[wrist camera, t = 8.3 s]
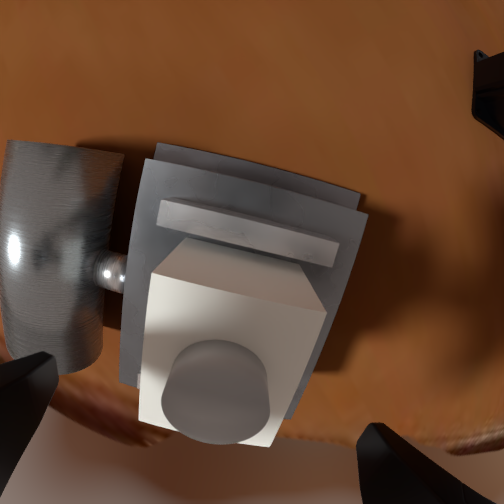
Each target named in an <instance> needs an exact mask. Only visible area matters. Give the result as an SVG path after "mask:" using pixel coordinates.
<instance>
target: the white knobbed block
mask: <svg viewBox="0 0 504 504" xmlns="http://www.w3.org/2000/svg"><path fill="white" fill-rule="evenodd" d="M326 314H327V312H326V310H325V309H324V307H323V305H322V303H321V301H320V300H319V298H318V296H317V294H316V293H315V291H314V289H313V287H312V286H311V284H310V282H309V281H308V279H307V277H306V275H305V274H304V272H303V270H302V268H301V267H300V265H299V264H297V263H293V262H288V261H284V260H280V259H276V258H272V257H267V256H263V255H259V254H255V253H251V252H246V251H242V250H238V249H234V248H230V247H226V246H221V245H217V244H213V243H209V242H205V241H200V240H196V239H192V238H188V237H186V238H185V239H184V240H183V241H182V242H181V243H180V244H179V245H178V246H177V247H176V248H175V249H174V250H173V251H172V252H171V253H170V254H169V255H168V256H167V257H166V258H165V259H164V260H163V261H162V262H161V263H160V264H159V265H158V267H157V268H156V269H155V270H154V271H153V272H152V273H151V280H150V287H149V295H148V303H147V311H146V320H145V329H144V340H143V351H142V363H141V378H140V397H139V421H143V422H146V423H149V424H153V425H156V426H160V427H164V428H167V429H171V430H175V431H179V432H181V433H182V434H184V435H186V436H188V437H190V438H192V439H194V440H197V441H201V442H205V443H211V444H232V443H241V444H249V445H256V446H264V447H270V445H271V443H272V441H273V439H274V437H275V435H276V433H277V431H278V429H279V427H280V425H281V423H282V420H283V418H284V416H285V414H286V412H287V410H288V407H289V405H290V403H291V401H292V398H293V396H294V394H295V392H296V389H297V387H298V385H299V382H300V380H301V378H302V375H303V373H304V371H305V368H306V366H307V363H308V361H309V358H310V356H311V354H312V351H313V348H314V346H315V343H316V341H317V338H318V336H319V333H320V330H321V328H322V325H323V322H324V320H325V317H326Z"/></svg>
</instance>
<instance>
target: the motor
mask: <svg viewBox="0 0 504 504" xmlns="http://www.w3.org/2000/svg"><path fill="white" fill-rule="evenodd" d="M124 155H125V154H120V153H115V152H108V151H102V150H96V149H89V148H82V147H74V146H67V145H58V144H50V143H40V142H30V141H19V140H7V144H6V149H5V155H4V161H3V168H2V176H1V184H0V306H1V314H2V322H3V328H4V335H5V341H6V346H7V349H8V351H9V353H10V355H11V356H12V357H13V359H14V360H15V359H19V358H22V357H25V356H28V355H31V354H35V353H38V352H41V351H45V352H47V353H49V354H52V355H54V356H55V358H56V361H57V369H58V375H62V374H69V373H74V372H77V371H80V370H82V369H85V368H87V367H88V366H90V365H91V364H92V363H94V362H95V361H96V360H97V359H98V357H99V356H100V354H101V351H102V347H103V313H104V294H105V289H108V290H112V291H115V292H118V293H122V294H124V295H123V306H122V320H121V336H120V362H119V382H121V383H124V384H127V385H130V386H133V387H136V388H138V389H140V378H141V363H142V351H143V340H144V329H145V320H146V311H147V303H148V295H149V287H150V280H151V273H152V272H153V271H154V270H155V269H156V268H157V267H158V265H159V264H160V263H161V262H162V261H163V260H164V259H165V258H166V257H167V256H168V255H169V254H170V253H171V252H172V251H173V250H174V249H175V248H176V247H177V246H178V245H179V244H180V243H181V242H182V241H183V240H184V239H185V238H186V237H188V238H192V239H196V240H200V241H205V242H209V243H213V244H217V245H221V246H226V247H230V248H234V249H238V250H242V251H246V252H251V253H255V254H259V255H263V256H267V257H272V258H276V259H280V260H284V261H288V262H293V263H297V264H299V265H300V267H301V268H302V270H303V272H304V274H305V275H306V277H307V279H308V281H309V282H310V284H311V286H312V287H313V289H314V291H315V293H316V294H317V296H318V298H319V300H320V301H321V303H322V305H323V307H324V309H325V310H326V312H327V314H326V317H325V320H324V322H323V325H322V328H321V330H320V333H319V336H318V338H317V341H316V343H315V346H314V348H313V351H312V354H311V356H310V358H309V361H308V363H307V366H306V368H305V371H304V373H303V375H302V378H301V380H300V382H299V385H298V387H297V389H296V392H295V394H294V396H293V398H292V401H291V403H290V405H289V407H288V410H287V412H286V414H285V416H284V418H283V419H291V418H292V416H293V413H294V411H295V409H296V407H297V405H298V403H299V401H300V399H301V397H302V394H303V392H304V390H305V388H306V386H307V383H308V381H309V379H310V377H311V374H312V372H313V370H314V367H315V365H316V363H317V360H318V358H319V355H320V353H321V351H322V348H323V346H324V343H325V341H326V338H327V336H328V333H329V331H330V328H331V326H332V323H333V320H334V318H335V315H336V312H337V310H338V307H339V304H340V302H341V299H342V296H343V293H344V290H345V288H346V285H347V282H348V279H349V276H350V273H351V270H352V267H353V264H354V261H355V258H356V255H357V252H358V248H359V245H360V242H361V239H362V235H363V232H364V229H365V225H366V222H367V218H368V214H365V213H362V212H359V211H356V209H357V206H358V202H359V198H360V195H361V194H360V193H357V192H354V191H351V190H348V189H344V188H341V187H338V186H335V185H332V184H328V183H325V182H322V181H318V180H315V179H312V178H308V177H305V176H301V175H298V174H294V173H291V172H287V171H283V170H280V169H276V168H272V167H268V166H264V165H261V164H257V163H253V162H248V161H244V160H240V159H236V158H232V157H227V156H223V155H218V154H214V153H209V152H205V151H200V150H195V149H190V148H185V147H180V146H175V145H169V144H164V143H158V142H157V146H156V150H155V154H154V159H153V160H152V159H145V163H144V167H143V172H142V177H141V181H140V186H139V191H138V196H137V202H136V207H135V213H134V219H133V225H132V231H131V237H130V244H129V251H128V255H124V254H120V253H117V252H113V251H109V241H110V234H111V226H112V220H113V213H114V207H115V201H116V195H117V190H118V184H119V179H120V174H121V169H122V164H123V160H124Z"/></svg>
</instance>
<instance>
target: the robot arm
mask: <svg viewBox="0 0 504 504" xmlns="http://www.w3.org/2000/svg"><path fill="white" fill-rule="evenodd" d="M477 111H478V113H477ZM472 115H473V116H474V117H475V118H476V119H477V120H479V121H480V122H481V123H483V124H484V125H486V126H487V127H489V128H490V129H491V130H493V131H494V132H495V133H497V134H498V135H499V136H501V137H502V138H503V139H504V52H502V53H499V54H497V55H494V56H491V57H488V56H487V55H486V54H484V53H483V52H482V51H480V50H476V51H474V78H473V98H472ZM58 382H59V376H58V369H57V361H56V358H55V356H54V355H52V354H49V353H47V352H45V351H41V352H38V353H35V354H31V355H28V356H25V357H22V358H19V359H15V360H12V361H9V362H6V363H2V364H0V497H1V495H2V493H3V491H4V488H5V487H6V484H7V483H8V480H9V479H10V477H11V475H12V473H13V471H14V469H15V467H16V465H17V463H18V461H19V460H20V458H21V456H22V454H23V452H24V451H25V449H26V447H27V445H28V444H29V442H30V440H31V438H32V437H33V435H34V433H35V431H36V430H37V428H38V426H39V424H40V422H41V420H42V418H43V416H44V413H45V411H46V409H47V407H48V405H49V402H50V400H51V398H52V396H53V394H54V392H55V390H56V388H57V385H58ZM356 451H357V460H358V472H359V484H360V491H361V496H362V502H363V504H496V503H494V502H492V501H491V500H489V499H487V498H485V497H483V496H482V495H480V494H479V493H477V492H476V491H474V490H473V489H471V488H470V487H468V486H467V485H465V484H464V483H462V482H461V481H460V480H458V479H457V478H455V477H454V476H453V475H451V474H450V473H448V472H447V471H446V470H444V469H443V468H442V467H440V466H439V465H437V464H436V463H435V462H433V461H432V460H431V459H429V458H428V457H426V456H425V455H424V454H423V453H421V452H420V451H419V450H417V449H416V448H415V447H413V446H412V445H411V444H409V443H408V442H407V441H406V440H404V439H403V438H402V437H400V436H399V435H398V434H397V433H395V432H394V431H393V430H391V429H390V428H389V427H388V426H386V425H385V424H384V423H370V424H369V425H368V426H367V427H366V429H365V430H364V432H363V433H362V435H361V436H360V438H359V439H358V441H357V444H356Z"/></svg>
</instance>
